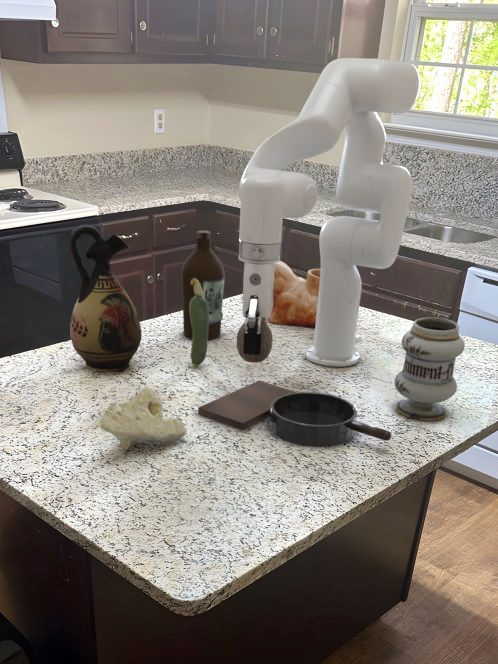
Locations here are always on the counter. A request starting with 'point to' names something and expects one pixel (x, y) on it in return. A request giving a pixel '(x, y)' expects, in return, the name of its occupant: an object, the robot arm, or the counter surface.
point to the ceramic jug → (103, 307)
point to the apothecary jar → (428, 367)
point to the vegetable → (199, 324)
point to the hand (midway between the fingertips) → (254, 346)
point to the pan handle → (370, 430)
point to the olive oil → (203, 284)
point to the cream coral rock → (141, 420)
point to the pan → (312, 418)
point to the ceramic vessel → (294, 297)
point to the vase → (265, 343)
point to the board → (244, 405)
